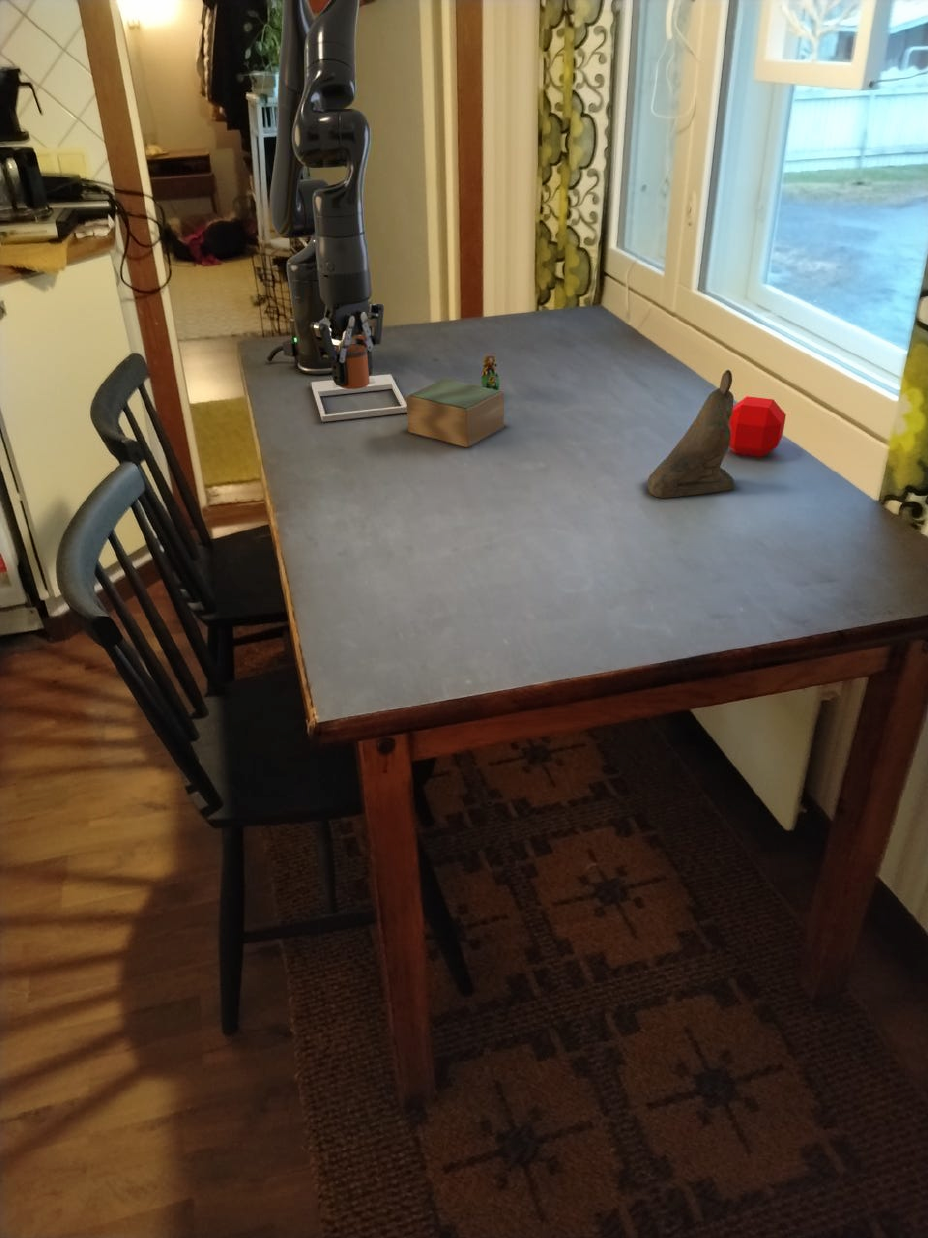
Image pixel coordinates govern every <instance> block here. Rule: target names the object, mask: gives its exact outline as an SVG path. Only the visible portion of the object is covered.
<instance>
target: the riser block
mask: <svg viewBox="0 0 928 1238" xmlns="http://www.w3.org/2000/svg"><path fill="white" fill-rule="evenodd" d="M504 394H505V393H504V391H503V390H500V389H499V390H495V389H493V388H492V389H490V388H485V387H482V385H481V386H480V385H477V384H476V385H475V384H471V383H466V382H461V381H457V380H453V379H448V378H442V379H441V380H438V381H437V382H434V383H432V384H430V385H427V386H426V387H423V388H420V389H419V390H416V391H415V392H412V393H410V394H408V395H406V396H405V402H406V404H407V412H406V417H407V432H408V433H411V434H413V435H414V434H415V435H419V436H421V437H426V438H430V439H434V440H438V441H442V442H446V443H450V444H453V445H457V446H461V447H464V448H465V447H466V448H469V447H470V446H473V445H475V444H476V443H478V442H480V441H482V440H483V439H485V438H488V437H489V436H491V435H493V434H494V433H496V432H498V431H500V430H502V429H504V428H505V404H504V402H505V399H504V398H505V397H504V396H505V395H504Z"/></svg>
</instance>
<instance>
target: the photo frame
mask: <svg viewBox="0 0 928 1238" xmlns="http://www.w3.org/2000/svg"><path fill="white" fill-rule="evenodd" d="M369 381H370V383H369V385H367V386H365V387H362V388H357V389H346V388H342V387H340V386H338V385H336V384H335V382H334V381H333V379H331V380H321V381H312V382H311V389H312V393H313V395H314V400H315V403H316V405H317V409H318V412H319V415H320V419H321V422H332V421H341V420H350V419H359V418H369V417H379V416H386V415H387V416H388V415H395V414H396V415H397V414H402V413H403V414H404V413H407V404H406V399H405V398H404V397H403V394H402V393H401V391H400V389H399V387H398V385H397V383H396V382H395V379H394V378H393V376H392V374H390V373H389V374H379V375H370V376H369ZM383 390H392V391H393V393H394V394H395V397H396V399H397V401H398V402H399V405H400V406H391V407H390V406H389V407H382V408H373V409H364V410H355V411H345V412H337V413H327V414H326V412H325V409H324V406H323V403H322V400H321V397H327V396H336V395H337V396H338V395H345V394H356V393H365V392H374V391H383Z"/></svg>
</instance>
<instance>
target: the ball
mask: <svg viewBox="0 0 928 1238" xmlns="http://www.w3.org/2000/svg"><path fill="white" fill-rule="evenodd" d="M733 407H734V408H733V412H732V416H731V418H730V420H729V425H730V429H731V439H730V444H729V448H730V449H731V450H732V451H733V453H734V454H736V455H742V456H749V457H750V456H751V457H757V458H762V457H764V456H765V455H767V454H768V453H770V452H771V451H773V450H775V448H777V447H779V444H780V442H781V440H782V438H783V434H784V428H785V421H786V415H787V414H786V413H785V412H784V410H782V409H783V408H781V407H780V406H779V404H777V401H775V399H773V398H765V397H757V396H756V397H755V396H749V395H748V396H745V397H744V398H743V399H741V400H740V401H739V402H737V403H736V404H735V405H733Z"/></svg>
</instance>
